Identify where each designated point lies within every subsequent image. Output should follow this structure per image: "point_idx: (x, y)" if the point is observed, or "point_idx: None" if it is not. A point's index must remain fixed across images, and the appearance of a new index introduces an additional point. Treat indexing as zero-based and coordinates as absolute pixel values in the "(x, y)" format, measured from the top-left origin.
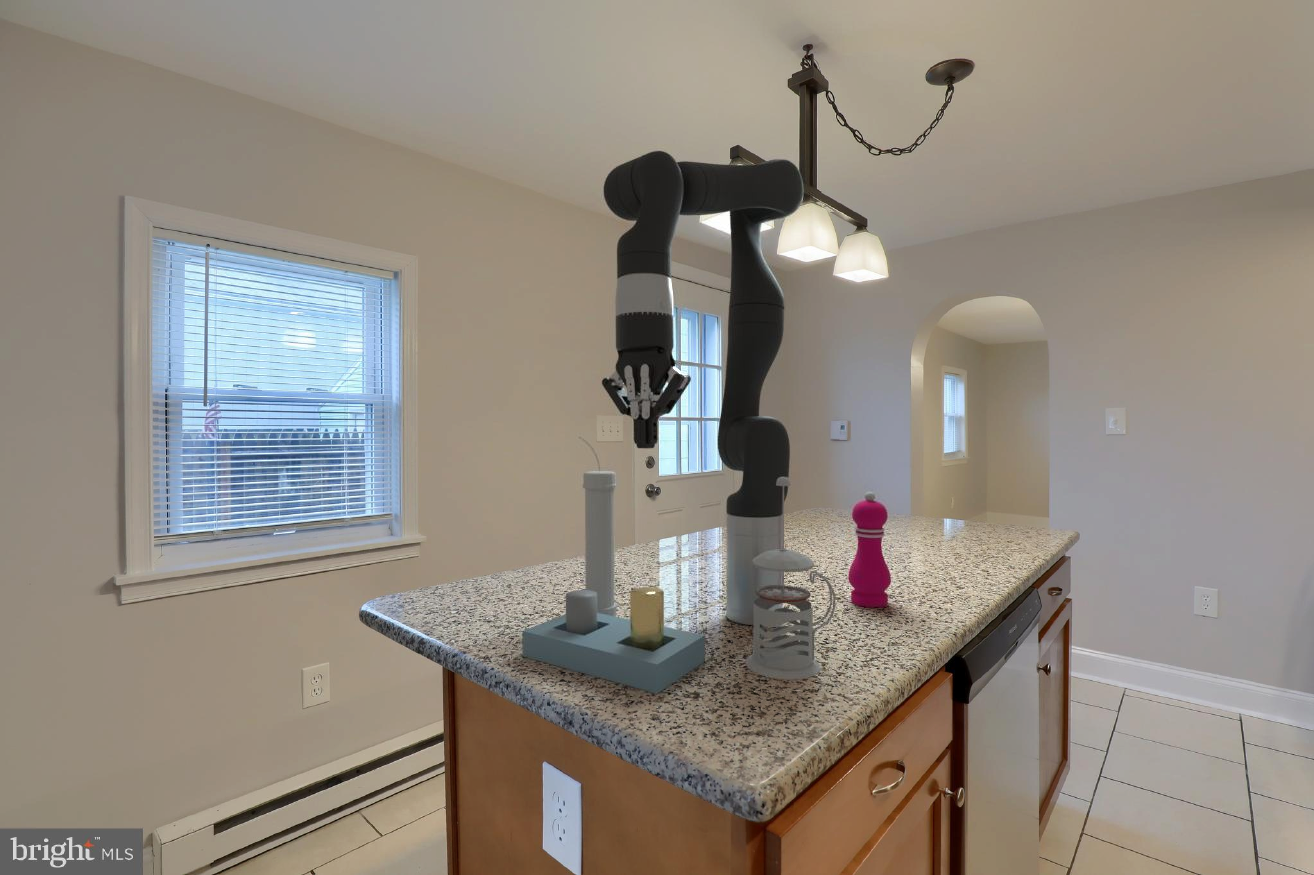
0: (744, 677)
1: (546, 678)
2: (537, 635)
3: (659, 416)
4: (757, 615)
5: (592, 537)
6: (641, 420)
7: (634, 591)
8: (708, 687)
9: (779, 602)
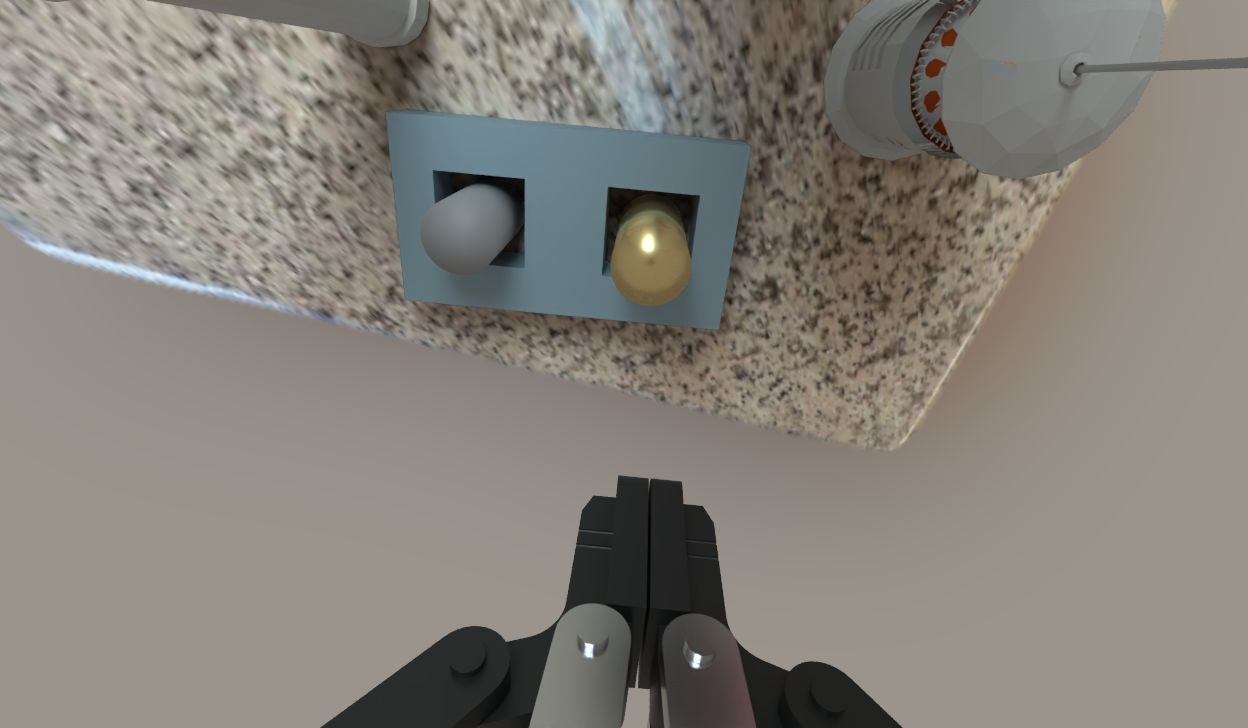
0: (836, 183)
1: (526, 338)
2: (445, 302)
3: (754, 664)
4: (897, 134)
5: (251, 16)
6: (641, 683)
7: (623, 279)
8: (783, 253)
9: None
